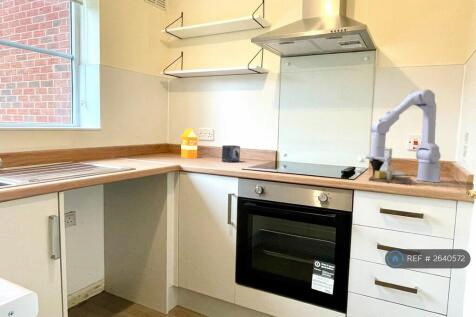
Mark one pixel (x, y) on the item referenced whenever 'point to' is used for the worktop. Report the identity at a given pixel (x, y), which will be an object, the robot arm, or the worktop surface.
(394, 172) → the small silver pan
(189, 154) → the orange juice
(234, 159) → the small box
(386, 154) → the syrup box
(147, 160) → the worktop surface
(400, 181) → the post board
